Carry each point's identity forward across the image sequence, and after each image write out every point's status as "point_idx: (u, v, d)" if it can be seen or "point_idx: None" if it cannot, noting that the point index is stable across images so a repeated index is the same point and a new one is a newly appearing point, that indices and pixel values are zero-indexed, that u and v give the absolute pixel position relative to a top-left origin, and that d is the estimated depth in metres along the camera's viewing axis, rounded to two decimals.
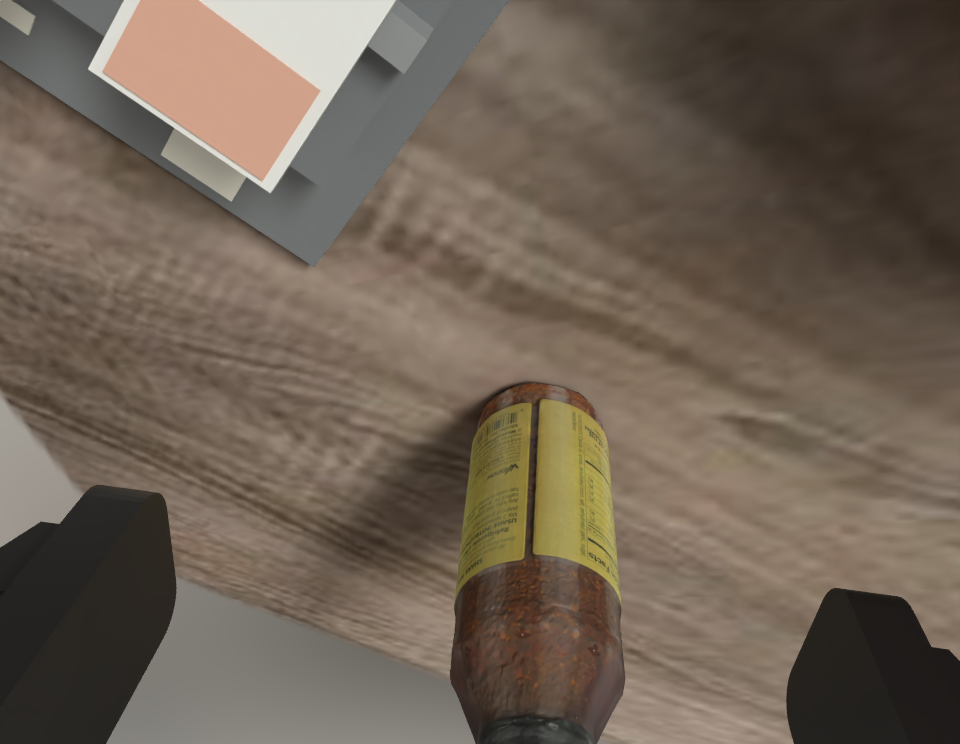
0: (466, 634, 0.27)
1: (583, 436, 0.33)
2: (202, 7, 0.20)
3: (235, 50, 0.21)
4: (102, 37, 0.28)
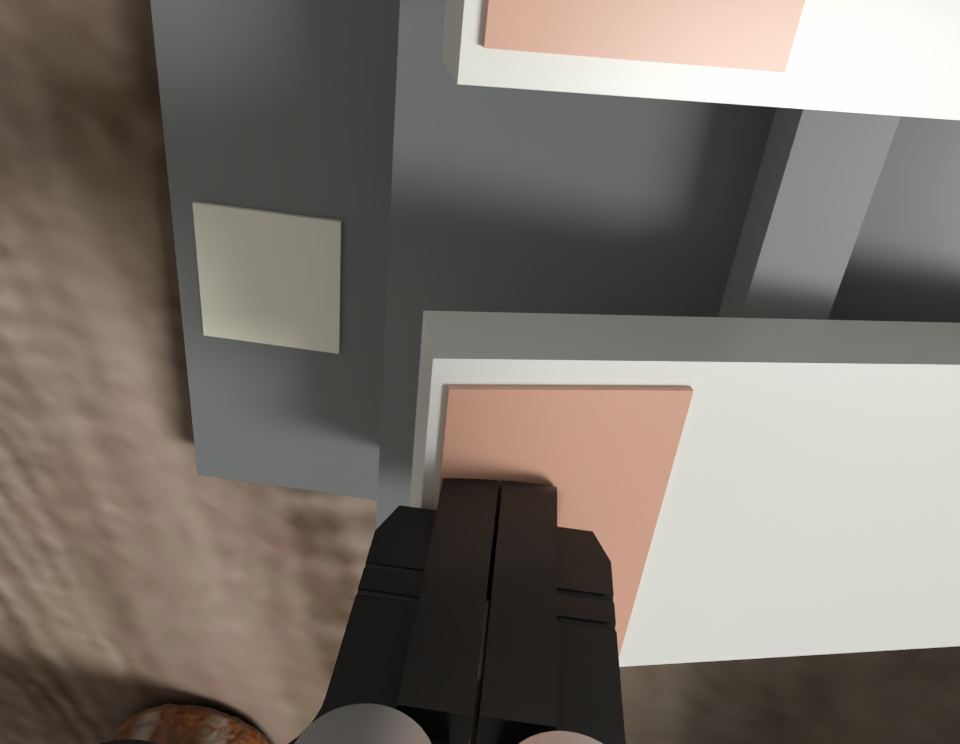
0: None
1: None
2: (664, 476, 0.10)
3: (618, 545, 0.11)
4: (327, 38, 0.14)
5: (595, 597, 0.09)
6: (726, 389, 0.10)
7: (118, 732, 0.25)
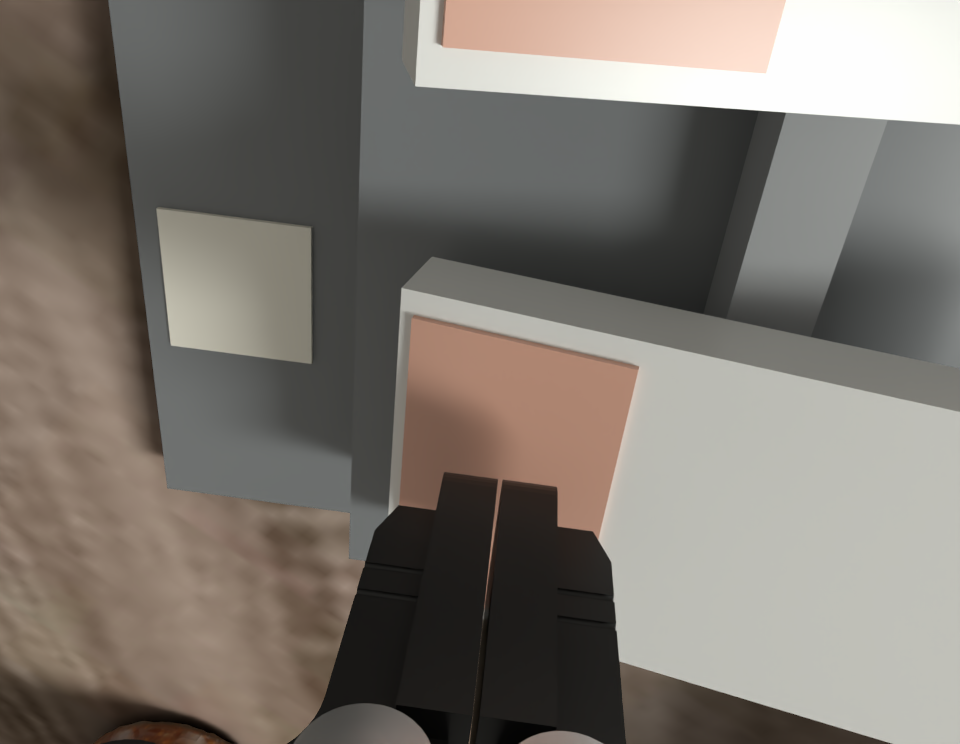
0: None
1: None
2: (611, 454, 0.11)
3: (569, 514, 0.11)
4: (293, 37, 0.14)
5: (595, 597, 0.09)
6: (677, 379, 0.10)
7: None
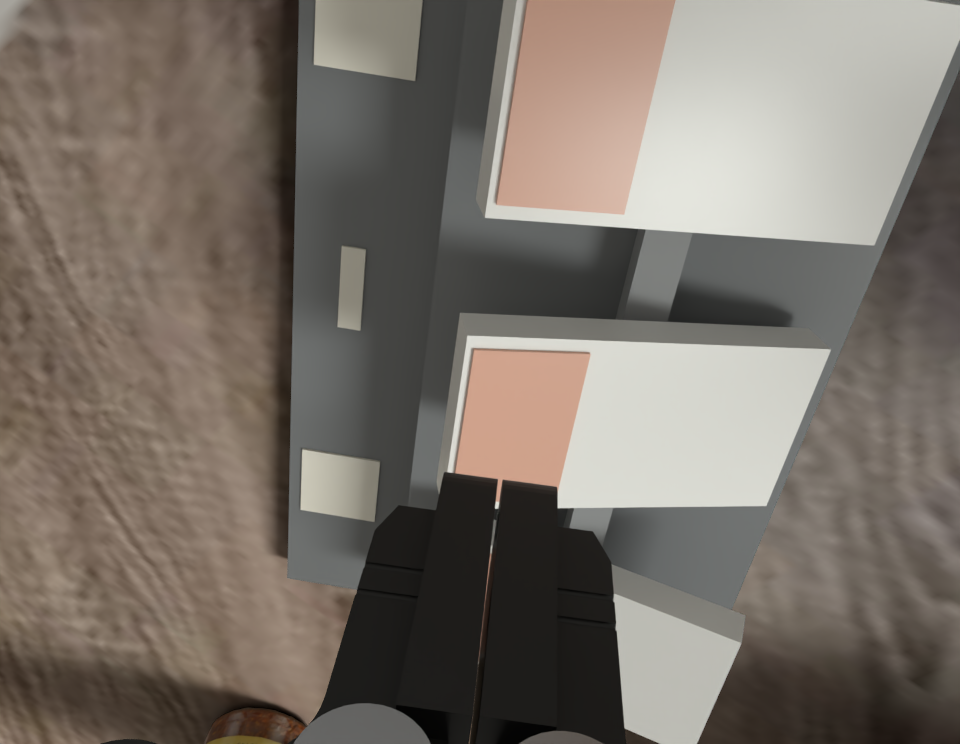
0: None
1: None
2: None
3: None
4: (378, 385, 0.29)
5: (595, 597, 0.09)
6: None
7: (216, 725, 0.40)
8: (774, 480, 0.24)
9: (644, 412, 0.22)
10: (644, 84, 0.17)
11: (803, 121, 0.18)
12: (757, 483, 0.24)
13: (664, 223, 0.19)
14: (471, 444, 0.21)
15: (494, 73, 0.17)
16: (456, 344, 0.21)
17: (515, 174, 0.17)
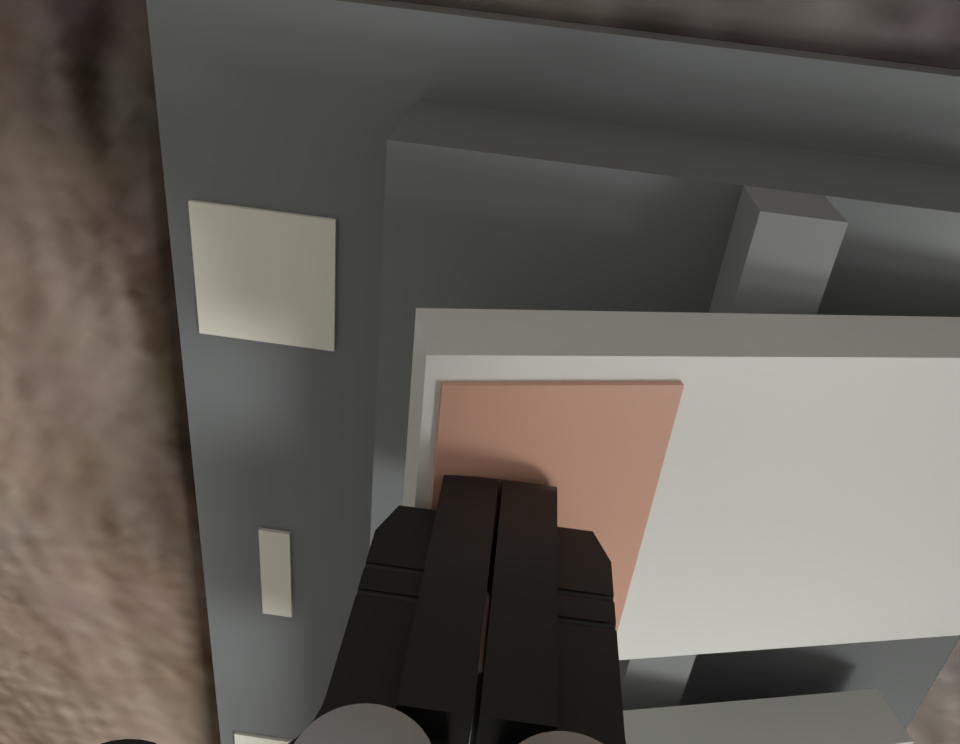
0: None
1: None
2: None
3: None
4: (320, 671, 0.23)
5: (595, 597, 0.09)
6: None
7: None
8: None
9: None
10: (634, 506, 0.11)
11: (879, 517, 0.12)
12: None
13: (672, 649, 0.13)
14: None
15: (405, 477, 0.11)
16: None
17: None
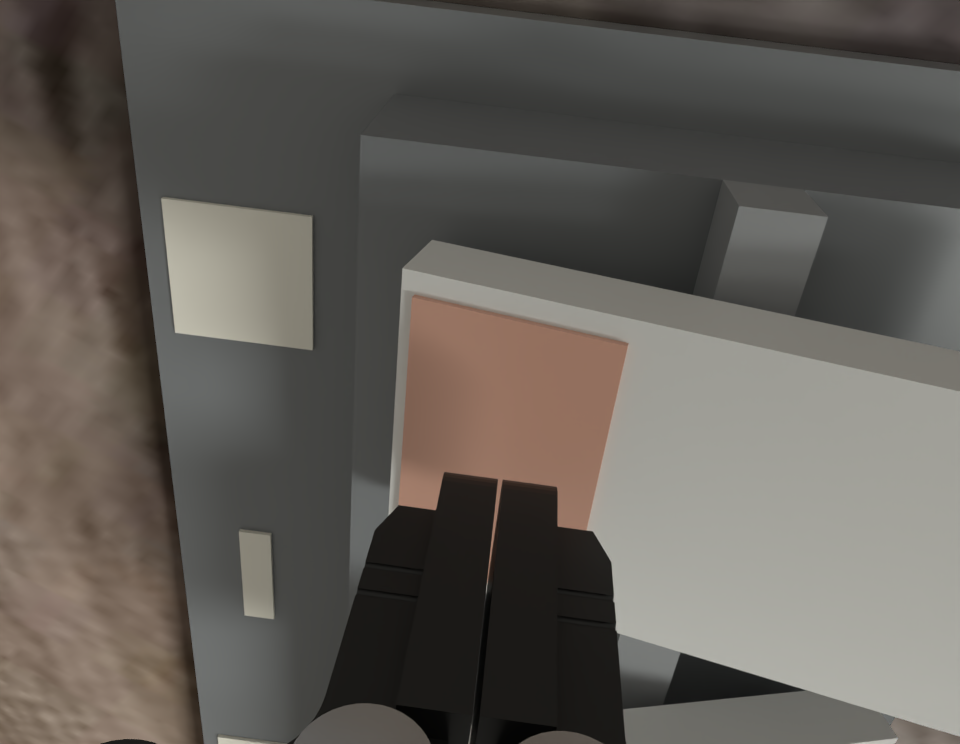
0: None
1: None
2: None
3: None
4: (304, 672, 0.23)
5: (595, 597, 0.09)
6: None
7: None
8: None
9: None
10: (585, 461, 0.11)
11: (864, 556, 0.11)
12: None
13: (634, 630, 0.13)
14: None
15: None
16: None
17: None
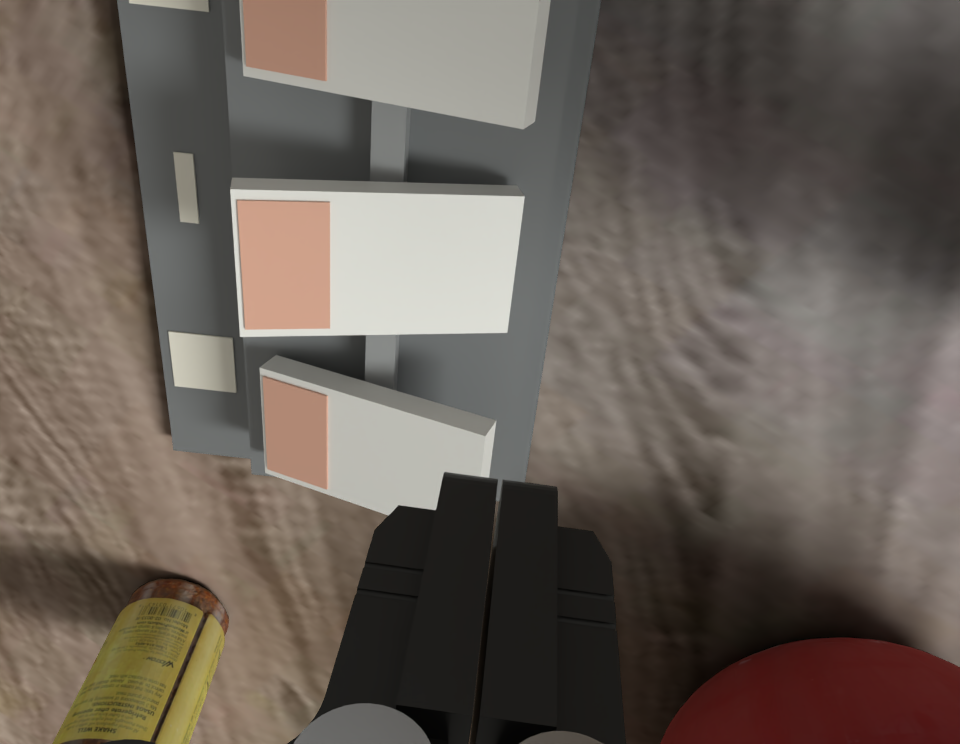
0: None
1: (215, 659, 0.45)
2: (324, 423, 0.33)
3: (316, 443, 0.34)
4: (221, 270, 0.35)
5: (595, 597, 0.09)
6: (338, 399, 0.32)
7: (133, 594, 0.46)
8: (508, 310, 0.31)
9: (385, 251, 0.28)
10: None
11: (437, 16, 0.24)
12: (494, 312, 0.31)
13: (356, 91, 0.26)
14: (251, 280, 0.28)
15: None
16: None
17: (253, 45, 0.26)
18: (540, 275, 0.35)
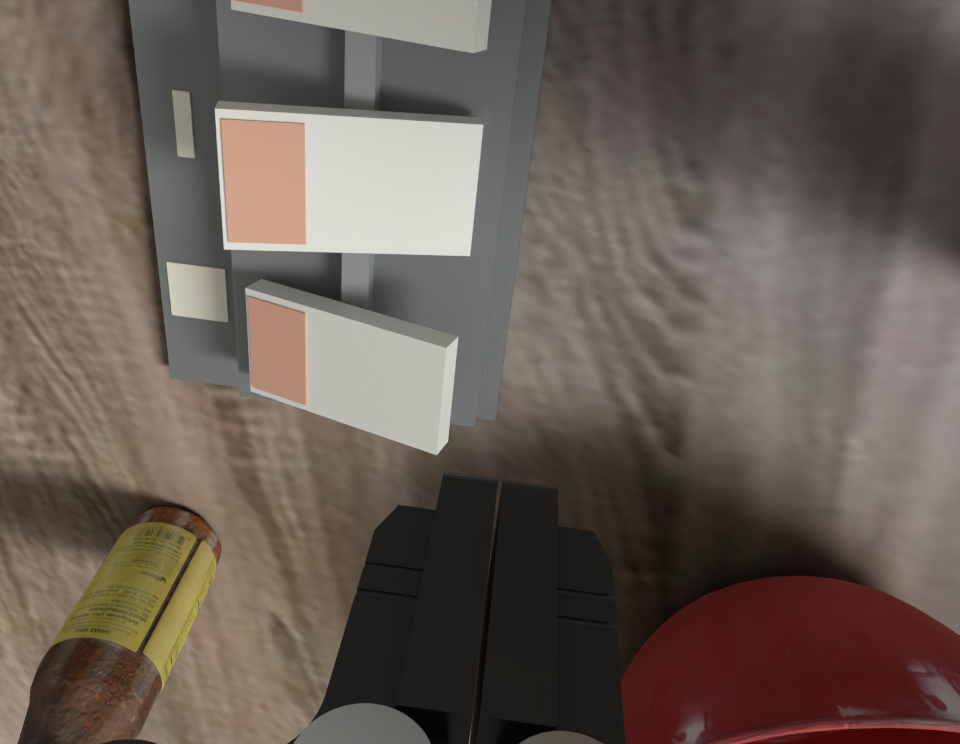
0: (70, 676, 0.39)
1: (206, 581, 0.48)
2: (303, 340, 0.36)
3: (296, 360, 0.36)
4: (214, 203, 0.39)
5: (595, 597, 0.09)
6: (315, 316, 0.35)
7: (132, 520, 0.49)
8: (470, 233, 0.33)
9: (356, 173, 0.31)
10: None
11: None
12: (457, 236, 0.33)
13: (328, 21, 0.29)
14: (233, 194, 0.31)
15: None
16: None
17: None
18: (507, 211, 0.38)
